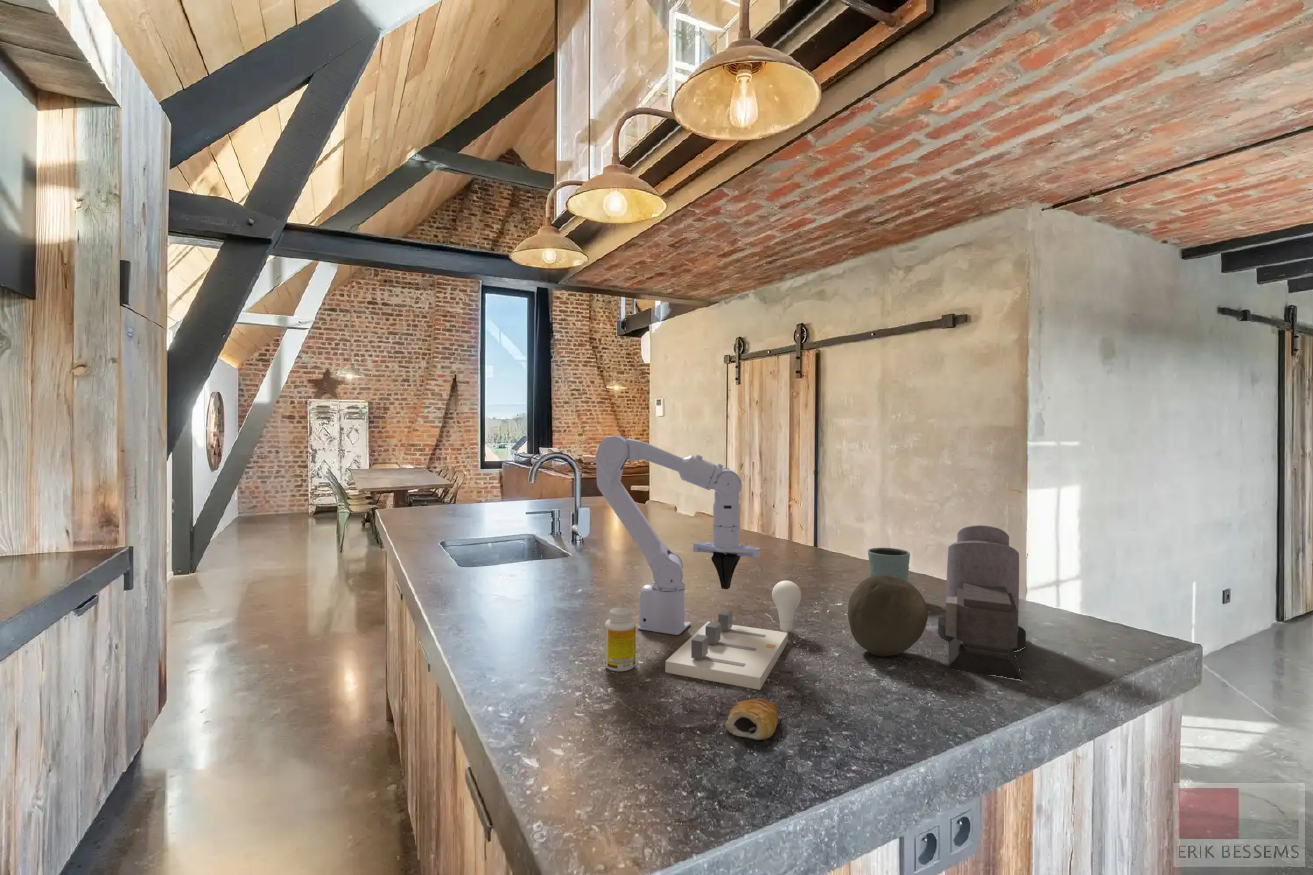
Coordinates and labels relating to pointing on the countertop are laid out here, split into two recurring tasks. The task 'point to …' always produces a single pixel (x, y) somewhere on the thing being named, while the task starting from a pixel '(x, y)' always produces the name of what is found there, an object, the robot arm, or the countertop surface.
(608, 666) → the supplement bottle
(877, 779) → the countertop surface
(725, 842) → the countertop surface
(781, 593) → the lightbulb
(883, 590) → the cantaloupe
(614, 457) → the robot arm
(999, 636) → the juicer
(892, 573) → the drinking glass
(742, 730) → the pastry
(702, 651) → the block
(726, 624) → the block
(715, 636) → the block
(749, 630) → the breaker panel
